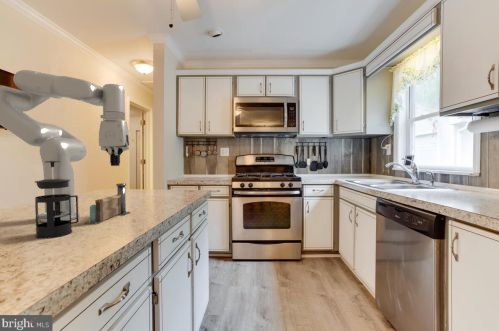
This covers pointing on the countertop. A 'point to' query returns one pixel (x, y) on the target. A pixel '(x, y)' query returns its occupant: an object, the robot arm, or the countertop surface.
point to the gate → (108, 207)
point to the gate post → (122, 197)
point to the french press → (54, 209)
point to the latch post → (92, 215)
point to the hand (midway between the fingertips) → (115, 165)
